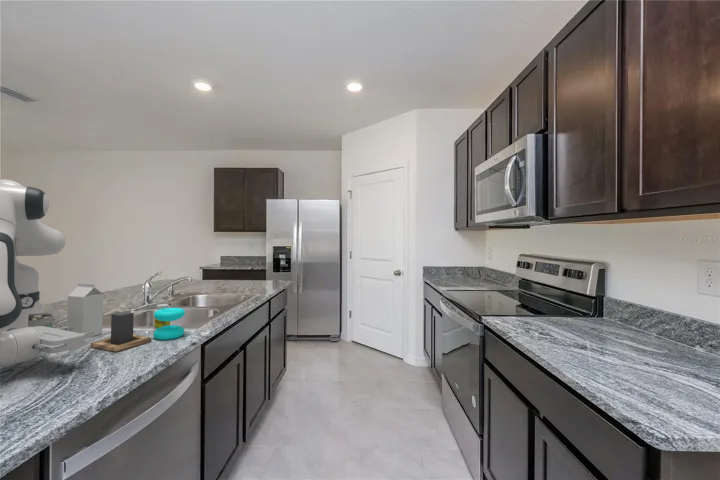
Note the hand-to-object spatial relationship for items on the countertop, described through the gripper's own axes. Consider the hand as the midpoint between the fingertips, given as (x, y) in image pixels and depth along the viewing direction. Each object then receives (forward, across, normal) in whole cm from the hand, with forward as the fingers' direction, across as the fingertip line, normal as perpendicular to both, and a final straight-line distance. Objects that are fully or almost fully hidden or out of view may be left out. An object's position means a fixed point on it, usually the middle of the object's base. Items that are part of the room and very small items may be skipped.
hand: (82, 331), depth 99 cm
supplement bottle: (+31, +5, +8) cm, 32 cm away
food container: (0, +21, +8) cm, 22 cm away
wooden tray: (+12, 0, +8) cm, 14 cm away
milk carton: (+13, +21, +8) cm, 26 cm away
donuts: (+25, -6, +8) cm, 27 cm away
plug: (+12, 0, +7) cm, 14 cm away
